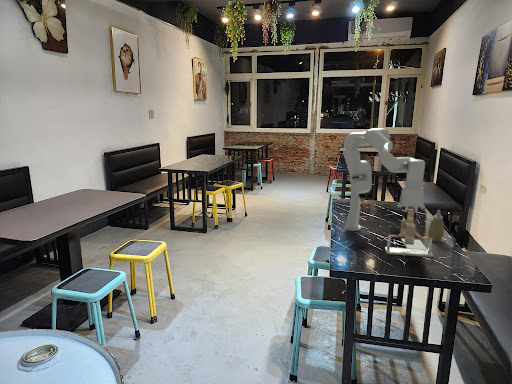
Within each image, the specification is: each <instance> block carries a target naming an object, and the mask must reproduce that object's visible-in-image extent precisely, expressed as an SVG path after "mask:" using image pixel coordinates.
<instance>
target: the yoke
mask: <svg viewBox="0 0 512 384" xmlns="http://www.w3.org/2000/svg"><path fill="white" fill-rule="evenodd" d="M407 212H408V215H407V220H405V219H404V217H403V216H402V219H401V224H400V225H401V226H400V231H399V234H401V233H403V232H405V231H406V234H404V235H402V236H400V237H399V238H404V239H405V242H404V243H405V244H409V245H414V239H416V238H415V237H416V234H415V231H416V230H417V227H416V224H415V223H414V220H413V218H414V208H408V209H407ZM416 232H417V231H416ZM404 243H403V244H404Z"/></svg>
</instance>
